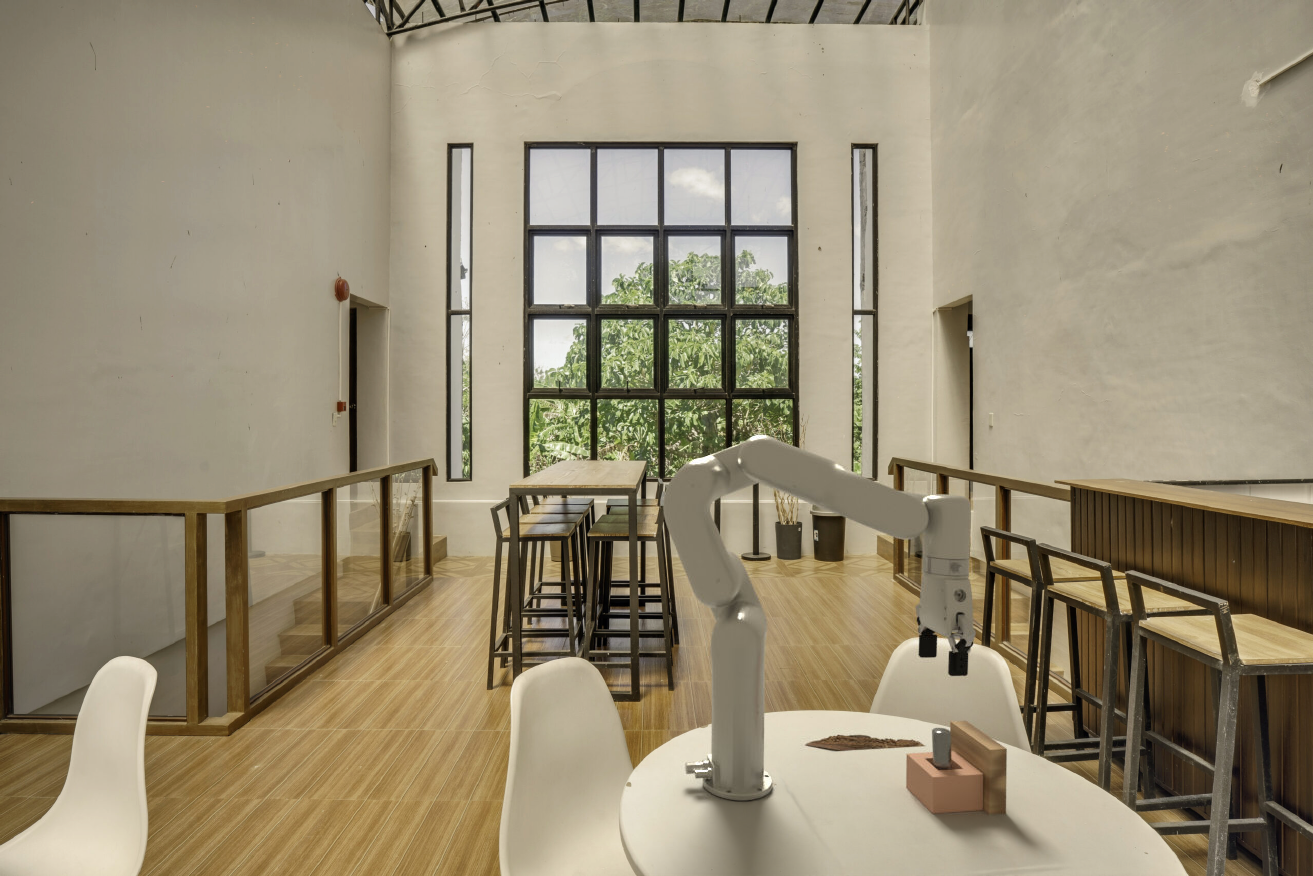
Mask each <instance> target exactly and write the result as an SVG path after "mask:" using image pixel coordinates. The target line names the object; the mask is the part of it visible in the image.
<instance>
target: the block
mask: <svg viewBox="0 0 1313 876" xmlns="http://www.w3.org/2000/svg"><path fill="white" fill-rule="evenodd" d="M951 758H952V770H937V769H936V768H935V767H934V766H933V751H932V752H931V751H929V752H913V753H912V752H911V753H906V772H905V774H906V775H905V779H906V780H905V786H906V787H905V788H906V789H907V790H908V791H909V792H910V794H912V795H913V796H914V797H915V798H916V799H918V801H919V802H921V804H923V806H924V807H925V808H927V810H928V811H929V812H931V814H944V813H945V814H946V813H960V812H972V811H973V812H974V811H984V810H983V773H981V772H980V771H979V770H977V769H976V768H975V767H974V766H972V765H971V764H970V763H968V762H967V761H966V760H965V759H963V758H962V757H961V756H960V755H958V754H957V753H956V752H954V751H951Z"/></svg>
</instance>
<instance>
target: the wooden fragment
mask: <svg viewBox="0 0 1313 876" xmlns="http://www.w3.org/2000/svg"><path fill="white" fill-rule="evenodd" d="M805 746H811V747H815V748H816V747H817V748H823V749H828V750H829V749H830V750H836V751H844V752H845V751H846V752H847V751H849V752H850V751H863V750H864V751H866V750H881V749H883V750H884V749H886V750H887V749H897V748H898V749H900V748H902V749H904V748H915V747H916V748H917V747H920V748H921V747H926V745H925V744H923V742H920V741H919V740H917V741H916V740H914V739H902V738H901V739H897V740H896V739H893V738H885V739H883V738H877V737H871V736H869V735H866V734H850V735H843V734H837V735H829V736H828V737H824V738H821V739H820V740H812V741H809V742H806V744H805Z"/></svg>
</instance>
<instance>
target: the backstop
mask: <svg viewBox="0 0 1313 876" xmlns="http://www.w3.org/2000/svg"><path fill="white" fill-rule="evenodd" d="M949 723H950V727H949V728H950V729H949V731H950V732H951V751H954V752H956V753H957V754H958V755H960V756H961V757H962V758H963V759H965V760H966V761H967V762H968V763H970V764H971V765H972V766H974V767H975V768H976V769H977V770H979V771H980V772H981V773H983V810H982V811H984V812H985V813H986V814H988V815H989V816H991V815H992V816H993V815H1005V814H1007V767H1008V765H1007V764H1008V763H1007V760H1008V757H1007V755H1008V754H1007V753H1008V749H1007V747H1005V746H1003V745H1002V744H1000V743H999V742H997V741H996V740H994V738H992V737H990V736H989V735H987V734H986V733H984V732H983V731H981V730H980V729H979V728H977V727H976V726H975V725H973V724H972V723H970V722H968V721H967V720H953V721H950V722H949Z"/></svg>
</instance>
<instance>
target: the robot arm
mask: <svg viewBox="0 0 1313 876" xmlns="http://www.w3.org/2000/svg"><path fill="white" fill-rule="evenodd" d="M756 484H761V485H764V486H765V487H768V488H771V489H773V490H776V491H779V492H782V493H784V494H786V495H788V496H791V497H793V498H796V499H798V500H800V501H803V502H806V503H808V504H810V505H813V506H816V507H818V508H820V509H822V510H824V511H827V512H829V513H830V512H831V513H834V514H837V515H839V516H841V517H843V518H846V519H849V520H850V521H853V522H856V523H857V524H860V525H862V526H865V527H867V528H870V529H873V530H875V531H877V532H880V533H881V534H882V533H883V534H885V535H887V536H890V537H893V538H895V539H900V540H912V539H915V538H917V537H919V536H921V535H922V556H921V557H922V563H921V574H922V578H921V585H920V594H919V603H918V604H916V605H915V613H916V622H917V625H918V627H917V633H918V657H920V658H921V659H923V658H925V659H926V658H928V659H929V658H931V659H932V658H934V659H935V658H936V657H938V655H937V654H938V651H937V650H938V635H937V634H939V635H940V636H942V637H944V638H946V639H947V640H948V643H949V646H950V649H951V650H949V651H948V666H947V675H949V676H950V677H967V676H968V674H969V653H970V652H971V650H972V649H971V648H972V647H973V645H974V640H975V637H976V634H977V633H976V629H975V628H974V607H973V606H974V605H973V592H972V585H971V580H970V578H969V577H970V553H971V550H970V548H971V545H970V544H971V523H972V522H971V521H972V520H971V516H972V504H971V502H970V500H969V498H967V497H966V496H963V495H957V494H942V493H941V494H939V493H937V494H931V495H929V494H923V493H921V494H920V493H915V492H909V491H904V490H897V489H895V488H893V487H889V486H887V485H885V484H881V482H880V483H879V482H877V481H874V480H872V479H869V478H867V477H865V476H862V475H860V474H858V473H856V472H854V471H852V470H850V469H848V468H847V467H846V466H843V465H842V464H840V463H838V462H836V461H834V460H831V459H829V458H826V457H823V456H820V455H818V454H815V453H813V452H811V451H808V450H805V449H802V448H800V447H796V446H794V445H791V444H789V443H787V442H784V441H782V440H779V439H777V438H775V437H773V436H770V435H765V434H757V435H753V436H751V437H749V438H748V439H746V440H745V441H743V442H740V443H739V444H736V445H733V446H730V447H728V448H725V449H722V450H720V451H717V452H714V453H712V454H710V455H707V456H704V457H698V458H695V459H691V460H690V461H688V462H686V463H685V464H683V465H682V466H681V467H680V468H679V469H678V470H677V471H676V473H675V474H674V475H673V477H672V478H671V480H670V481H669V483H668V485H667V487H666V489H665V493H664V497H663V508H662V509H663V516H664V521H665V524H666V527H667V530H668V533H669V535H670V537H671V539H672V542H673V544H674V547H675V550H676V552H677V555H678V558H679V561H680V562H681V565H682V568H683V569H684V571H685V574H686V575H685V576H686V577H687V579H688V583H689V584H690V588H691V590H692V593H693V594H694V596H695V598H697V600H698V601H699V602H700V603H701V604H702V605H704V606H706V607H708V608H710V610H711V613H712V615H713V617H714V620H715V624H714V625H713V628H712V631H711V632H712V633H711V638H710V660H711V661H710V663H711V664H710V665H711V751H710V753H707V755H706V759H703V760H701V761H699V762H696V761H694V762H693V761H690V762H685V764H684V765H685V766H684V769H685V773H686V775H692V774H694V778H695V779H697V780H698V779H702V785H703V787H704V788H705V789H706V790H707V792H709V793H711V794H712V795H714V796H716V797H719V798H722V799H726V800H729V801H752V800H757V799H760V798H763V797H764V796H767V795H768V794H769V793H770V792H771V791H772V789H773V778H772V776H771V775H770V774H769V772H767V771H766V770H765V701H766V700H765V699H766V698H765V689H766V688H765V655H766V654H765V653H766V640H767V633H768V619H767V616H766V614H765V610H764V608H763V606H762V603H761V601H760V599H759V597H758V593H757V592H756V589H755V587H754V586H753V585H754V584H753V583H752V581H751V578H750V576H749V574H748V571H747V569H746V567H745V564H744V563H743V562H742V560H741V558H739V556H738V555H737V554H736V553H734V552H733V551H731V550H729V549H727V548H726V546H725V544H724V542H723V540H722V537H721V535H720V531H719V529H718V526H717V524H716V523H715V521H714V518H713V517H712V514H711V513H712V512H711V507H712V506H711V505H712V504H713V502H715V501H717V500H719V499H720V498H722V497H725V496H728V495H730V494H733V493H735V492H738V491H741V490H744V489H747V488H749V487H752V486H754V485H756ZM956 640H958V642H957V641H956Z"/></svg>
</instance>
